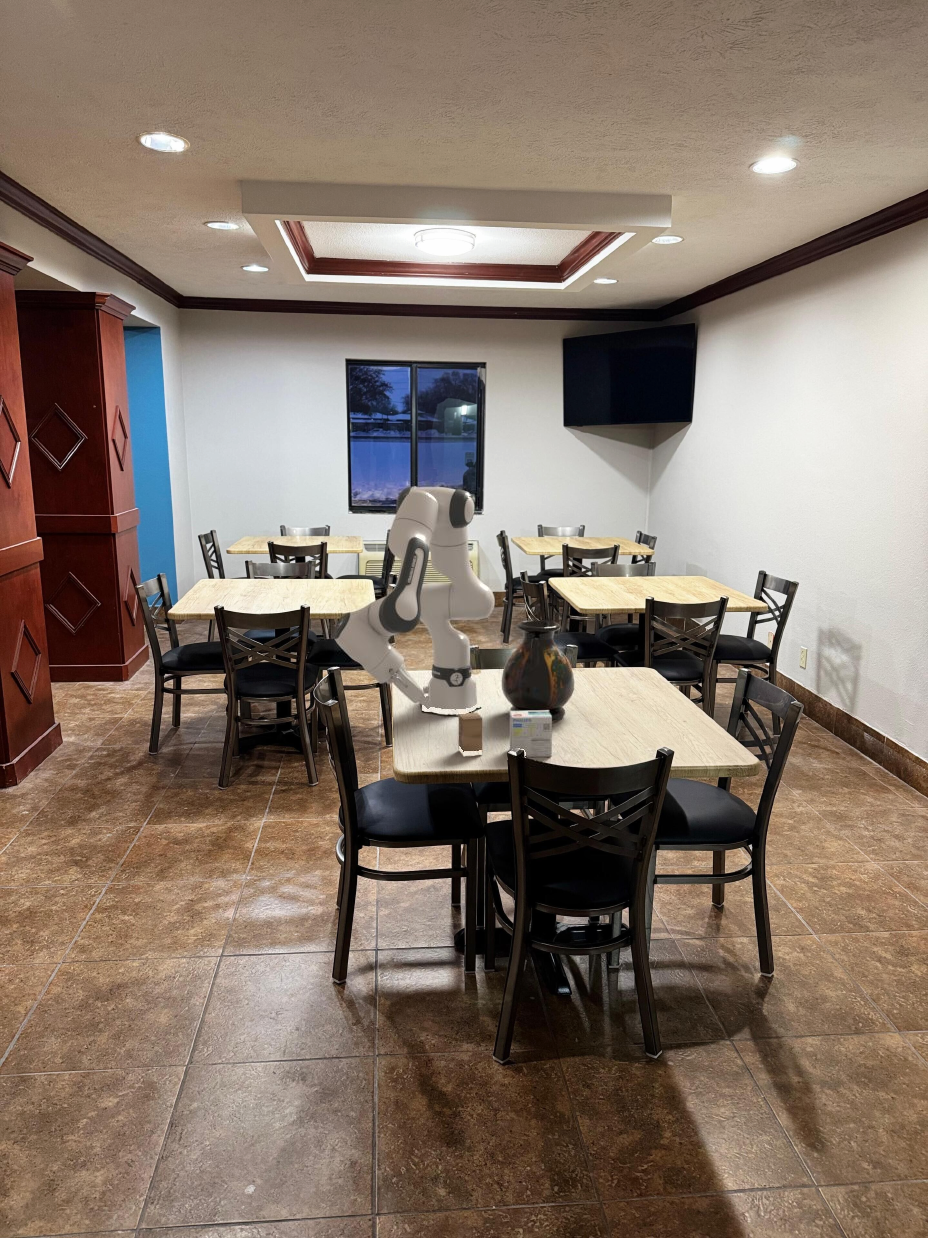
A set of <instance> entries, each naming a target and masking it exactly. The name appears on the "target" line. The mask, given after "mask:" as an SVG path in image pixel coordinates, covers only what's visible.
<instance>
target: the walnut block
mask: <svg viewBox="0 0 928 1238" xmlns="http://www.w3.org/2000/svg"><path fill="white" fill-rule="evenodd" d="M457 716H458V747H459V746H460V747H461V749H462V750H463V752H464V751H479V750H482V751H483V717H482V716H481V715H480V714H479V712H471V713H466V714H458V715H457Z"/></svg>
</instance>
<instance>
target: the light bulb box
mask: <svg viewBox="0 0 928 1238" xmlns="http://www.w3.org/2000/svg"><path fill="white" fill-rule="evenodd" d="M552 738H553V721H552V716H551V714H550V712H549V710H536V711H510V710H509V751H510V750H512V749H515V748H520V749H524V750H525V752H526V756H527V757H526V758H535V757H536V758H537V757H538V758H541V757H545V758H547V757H552V756H553V752H552V751H553V749H552V747H553V746H552V744H553V743H552V742H553V739H552Z"/></svg>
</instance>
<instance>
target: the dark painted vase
mask: <svg viewBox="0 0 928 1238" xmlns="http://www.w3.org/2000/svg"><path fill="white" fill-rule="evenodd" d="M516 628H517V630H519V631H521V632H522V635H523V640H522V642H521V643H520V644H519V646H517V648H516V649H515V650H514V651H513V652H512V653H510V655H509V657H508V658H507V660H506V662H505V665H504V667H503V671H502V676H501V690H502V693H503V696H504V697H505V698H506V700H507V701H508V703H509V704H511V707H510V708H509V712H510V711H536V710H549V712H550V714H551V716H552V722H556V721H558V720H560V719H563V717H564V716H565V715H566V710H565V708H564V706H565V705H566V704H567V703H568V702H569V701H570V699H571V697H572V696H573V694H574V690H575V678H574V677H575V676H574V673H573V668H572V665H571V663H570V660H569V659H568V658H567V656H566V655H565V654H564V652H563V651H562V650H561V649H560V648H559V647H558V645H557V644H556V642H555V641H554V636H555V635H554V634H555V632H557V631H559V630H560V629H561V624H559V623H558V622H555V621H549V620H541V619H540V620H525V621H524V620H523V621H520V622H518V623H517V624H516Z"/></svg>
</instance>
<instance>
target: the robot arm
mask: <svg viewBox="0 0 928 1238" xmlns="http://www.w3.org/2000/svg"><path fill="white" fill-rule="evenodd" d="M395 506H396V514H395V516H394V519H393V521H392V524H391V527H390V530H389V535H388V541H387V542H388V543H387V545H388V548H389V550H390V553H392V554H393V556H395V557H396V558H397V559H399V560H401V564H400V568H399V572H398V575H397V579H396V583H395V586H394V588H392V590H391V591H390V592H389V593H388V594H387V595H386V596H383V597H381V598H379V599H376V600H374V601H371V602H370V603H368V604H367V605H365V606H364V607H362V608H360V609H358V610H355V611H349V612H346V613H345V614H343V615H342V616H341V618H340V619H339V620H338V622H337V623H336V624H335V627H334V630H333V637H334V641H335V642H336V644H337V645H338V646H339V647H340V648H341V649H342V650H343V652H344V653H346V654H347V655H348V656H349V657H350V658H351V659H352V660H354V661H355V662H357V663H359V664H360V665H361V666H362V667H363V669H364V671H365V672H367V674H369V675H370V676H371V677H372V678H374V680H376V681H377V682H378V683H379V684H384V683H387V684H388V685H392V683H393V685H394V686H395V687H396V688H397V689H398V690H399V691H400V692H401V693H402V694H403V696H405V697H407V699H409V700H410V701H411V702H412V703H413V704H417V703H419V704H422V705H424V706H425V707H426V708H427V709H429V708H430V707H435V708H441V709H455V710H456V709H466V708H471V707H473V706H475V705H476V704H477V702H478V696H477V694H478V693H477V683H476V680H474V679H473V678H472V671H473V668H472V664H471V643H470V642H471V641H470V638H469V637H468V636H467V635H466V634H465V633H464V632H462V631H460V630H458V629H456V628H454V627H453V626H452V624H451V622H450V621H453V620H454V621H476V620H482V619H486V618H489V616H490V615H491V614H492V612H493V611H494V609H495V603H496V602H495V601H496V600H495V596H494V593H493V590H492V589H491V588H490V587H489V586H488V585H486V584H484V583H483V582H482V581H481V580H480V579H479V577H478V576H477V575H476V574H475V572H474V570H473V568H472V565H471V563H470V561H471V560H470V554H469V537H468V533H469V532H468V526H469V525H470V523H471V522H472V521H473V518H474V515H475V500H474V498H473V496H472V494H471V493H470V492H469V491H466V490H463V489H458V488H457V489H454V488H450V487H445V486H444V487H442V486H420V487H418V486H415V485H414V486H407V487H404V488H403V490H401V491H400V493H399V494H398V496H397V500H396V505H395ZM429 557H430V564H431V566H432V567H433V569H434V570H435V572H437V573H438V574H440V575H442V576H444V577H446V578H447V579H448V580H449V582H428V583H424V580H425V577H426V571H427V567H428V564H429V563H428V562H429ZM420 621H421V622H422V623H423V625H424V626H425V627H426V629H427V631H428V633H429V635H430V637H431V641H432V652H433V653H432V656H433V664H432V666H431V678H430V679H429V681H428V682H427V686H422V688H421V686H420V685H419V684H418V682H417V681H416V680H415V678H414V677H412V675H411V673H409V671H408V670H407V669H406V664H405V663H404V661H405V657H404V656H403V655H402V654H401V653H400V652H399V651H398V650H397V649H396V647H395V648H394V647H393V646H392V644H391V643H389V639H391V637H392V636H395V635H398V634H403V633H405V634H406V633H409V632H411V631H412V630H414V629H415V628H416V627H417V625H418V624H419V623H420ZM426 695H428V696H426ZM425 696H426V697H425Z"/></svg>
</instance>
